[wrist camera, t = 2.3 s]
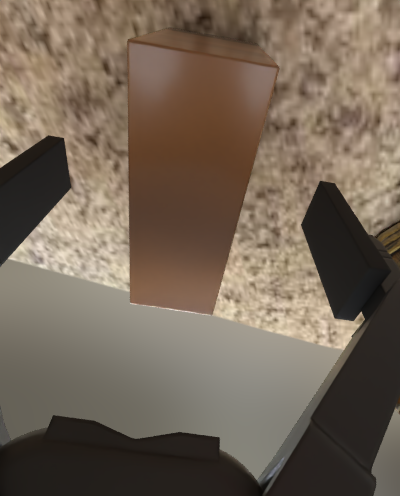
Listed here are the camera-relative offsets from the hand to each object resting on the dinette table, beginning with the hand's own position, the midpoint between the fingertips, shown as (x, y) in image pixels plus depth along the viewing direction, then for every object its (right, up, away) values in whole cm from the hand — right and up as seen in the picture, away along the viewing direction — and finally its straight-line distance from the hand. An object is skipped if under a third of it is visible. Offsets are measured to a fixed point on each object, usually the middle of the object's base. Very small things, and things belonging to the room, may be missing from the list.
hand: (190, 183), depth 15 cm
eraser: (0, +3, +3) cm, 4 cm away
